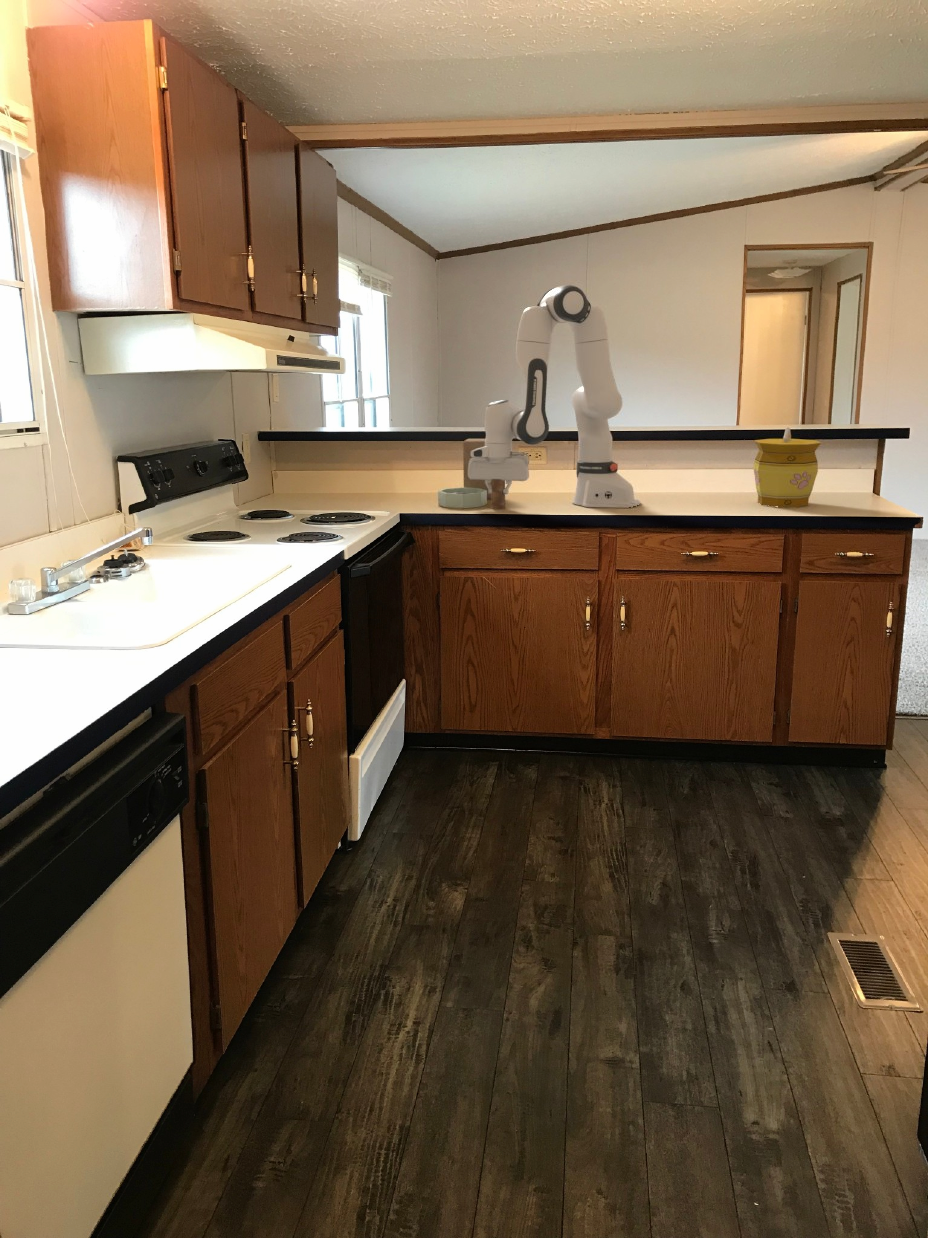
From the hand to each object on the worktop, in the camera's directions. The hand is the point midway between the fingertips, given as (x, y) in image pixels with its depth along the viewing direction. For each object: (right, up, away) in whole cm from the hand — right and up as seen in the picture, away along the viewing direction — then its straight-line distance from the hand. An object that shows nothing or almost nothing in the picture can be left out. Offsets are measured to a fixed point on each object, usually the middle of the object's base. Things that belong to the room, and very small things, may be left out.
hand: (498, 493), depth 325 cm
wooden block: (-6, +2, +26) cm, 27 cm away
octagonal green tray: (-12, -2, +9) cm, 15 cm away
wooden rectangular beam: (0, -4, +1) cm, 5 cm away
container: (+94, -3, +3) cm, 94 cm away
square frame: (-12, -2, +9) cm, 15 cm away
